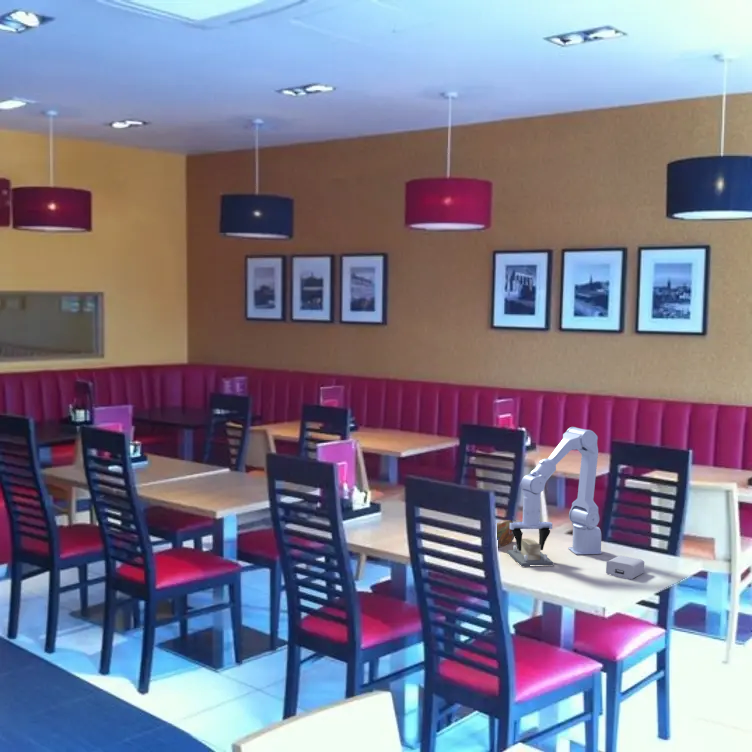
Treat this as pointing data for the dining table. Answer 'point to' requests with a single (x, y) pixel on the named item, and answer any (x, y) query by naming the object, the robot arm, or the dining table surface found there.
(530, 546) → the birch block
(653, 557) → the dining table surface
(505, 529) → the tin
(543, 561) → the standoff plate
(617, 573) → the charger
